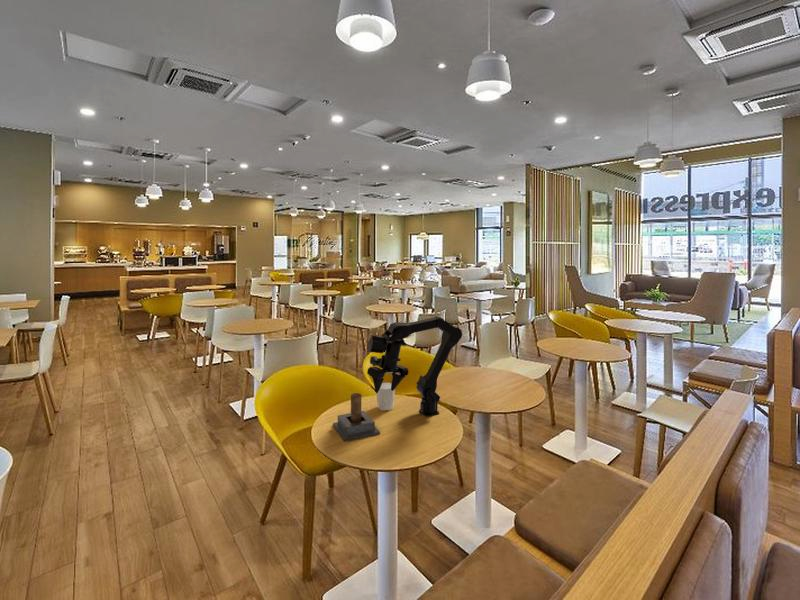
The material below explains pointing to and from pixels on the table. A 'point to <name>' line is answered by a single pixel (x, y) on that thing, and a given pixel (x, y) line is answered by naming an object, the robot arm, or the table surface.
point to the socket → (355, 427)
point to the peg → (355, 407)
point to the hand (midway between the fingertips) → (384, 391)
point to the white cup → (385, 397)
